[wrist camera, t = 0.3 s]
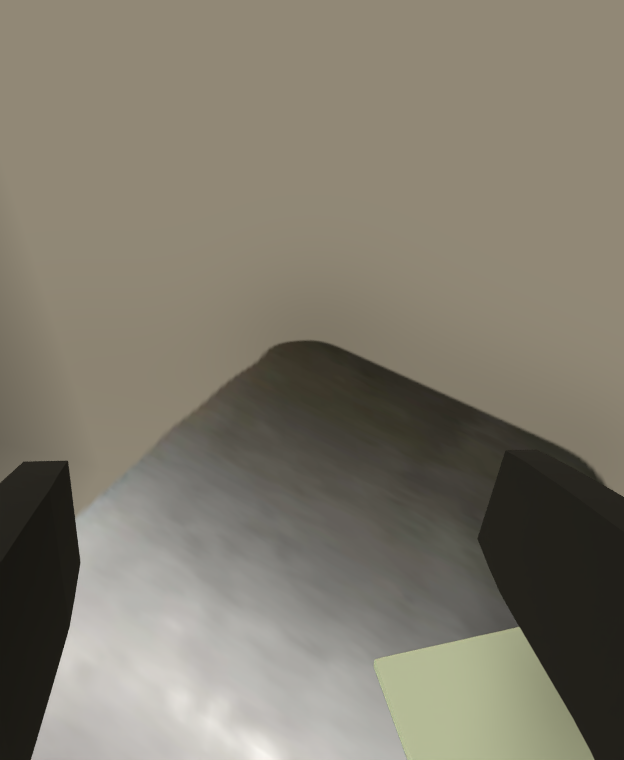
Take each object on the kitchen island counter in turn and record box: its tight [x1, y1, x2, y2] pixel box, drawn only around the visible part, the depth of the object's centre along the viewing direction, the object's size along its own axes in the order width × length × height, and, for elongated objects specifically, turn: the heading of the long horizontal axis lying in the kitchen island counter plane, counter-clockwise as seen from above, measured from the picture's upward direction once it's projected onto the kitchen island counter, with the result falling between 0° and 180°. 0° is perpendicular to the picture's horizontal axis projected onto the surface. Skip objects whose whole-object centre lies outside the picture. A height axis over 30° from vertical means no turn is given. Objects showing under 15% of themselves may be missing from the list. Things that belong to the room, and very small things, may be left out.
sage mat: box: [374, 627, 594, 760], centre depth 25 cm, size 9×9×1 cm
